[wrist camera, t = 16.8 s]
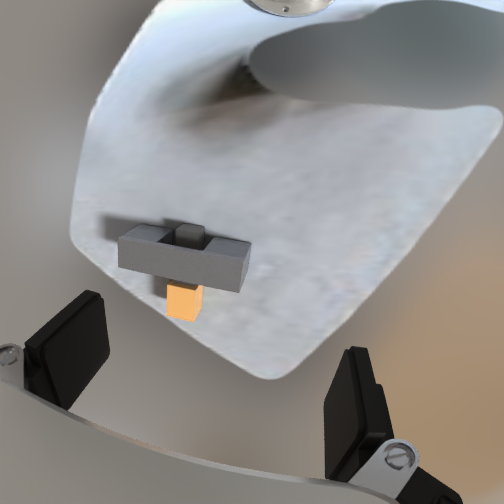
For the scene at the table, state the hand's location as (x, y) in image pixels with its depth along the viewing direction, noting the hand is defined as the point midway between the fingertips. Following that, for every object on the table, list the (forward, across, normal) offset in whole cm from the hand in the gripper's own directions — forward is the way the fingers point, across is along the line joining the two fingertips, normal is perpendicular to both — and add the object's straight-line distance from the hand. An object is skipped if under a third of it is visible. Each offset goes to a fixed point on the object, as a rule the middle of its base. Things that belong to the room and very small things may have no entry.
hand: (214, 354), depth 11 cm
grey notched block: (+30, +10, +8) cm, 33 cm away
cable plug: (+30, +10, +12) cm, 34 cm away
